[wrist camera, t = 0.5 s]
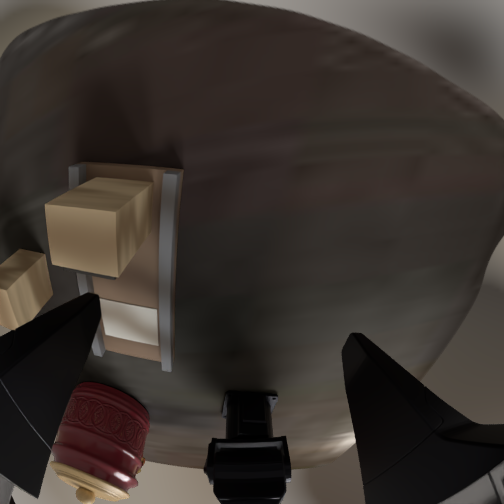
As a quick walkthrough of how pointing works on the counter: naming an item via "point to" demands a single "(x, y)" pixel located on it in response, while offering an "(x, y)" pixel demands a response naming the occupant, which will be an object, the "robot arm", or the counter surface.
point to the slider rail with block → (122, 252)
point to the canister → (100, 442)
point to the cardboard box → (23, 287)
